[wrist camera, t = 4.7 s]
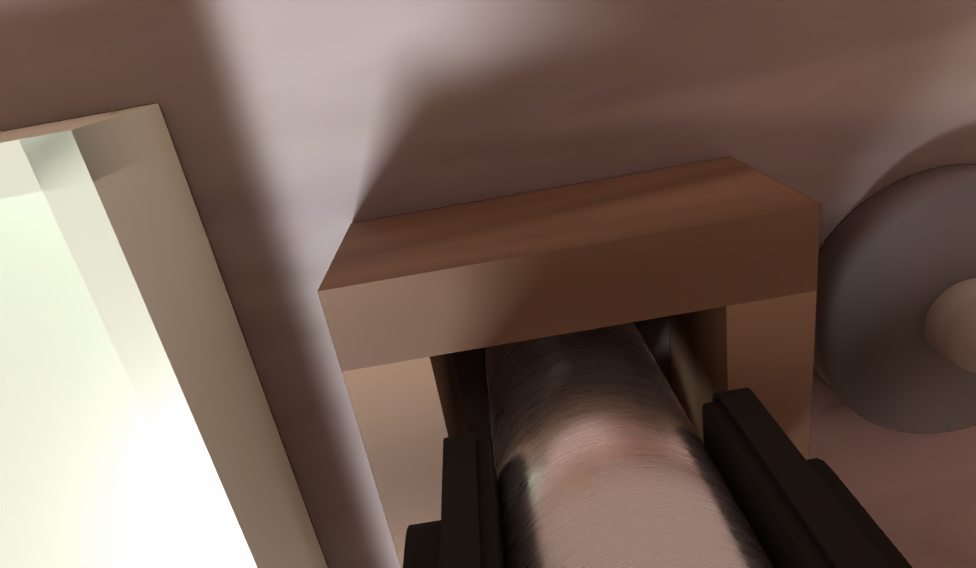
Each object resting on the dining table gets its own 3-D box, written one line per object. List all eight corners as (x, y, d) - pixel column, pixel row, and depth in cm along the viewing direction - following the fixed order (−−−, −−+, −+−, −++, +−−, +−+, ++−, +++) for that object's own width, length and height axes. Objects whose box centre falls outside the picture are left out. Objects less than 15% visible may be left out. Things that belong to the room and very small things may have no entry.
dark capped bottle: (473, 299, 14) (496, 705, 6) (633, 272, 14) (887, 644, 6) (498, 431, 16) (547, 908, 7) (644, 406, 15) (860, 861, 7)
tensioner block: (350, 223, 13) (317, 291, 10) (1097, 92, 13) (1310, 119, 10) (428, 514, 16) (421, 636, 13) (1029, 414, 16) (1172, 515, 13)
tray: (-341, 193, 12) (-569, 245, 10) (157, 103, 12) (70, 130, 9) (44, 734, 19) (-25, 856, 16) (370, 683, 19) (355, 797, 16)
